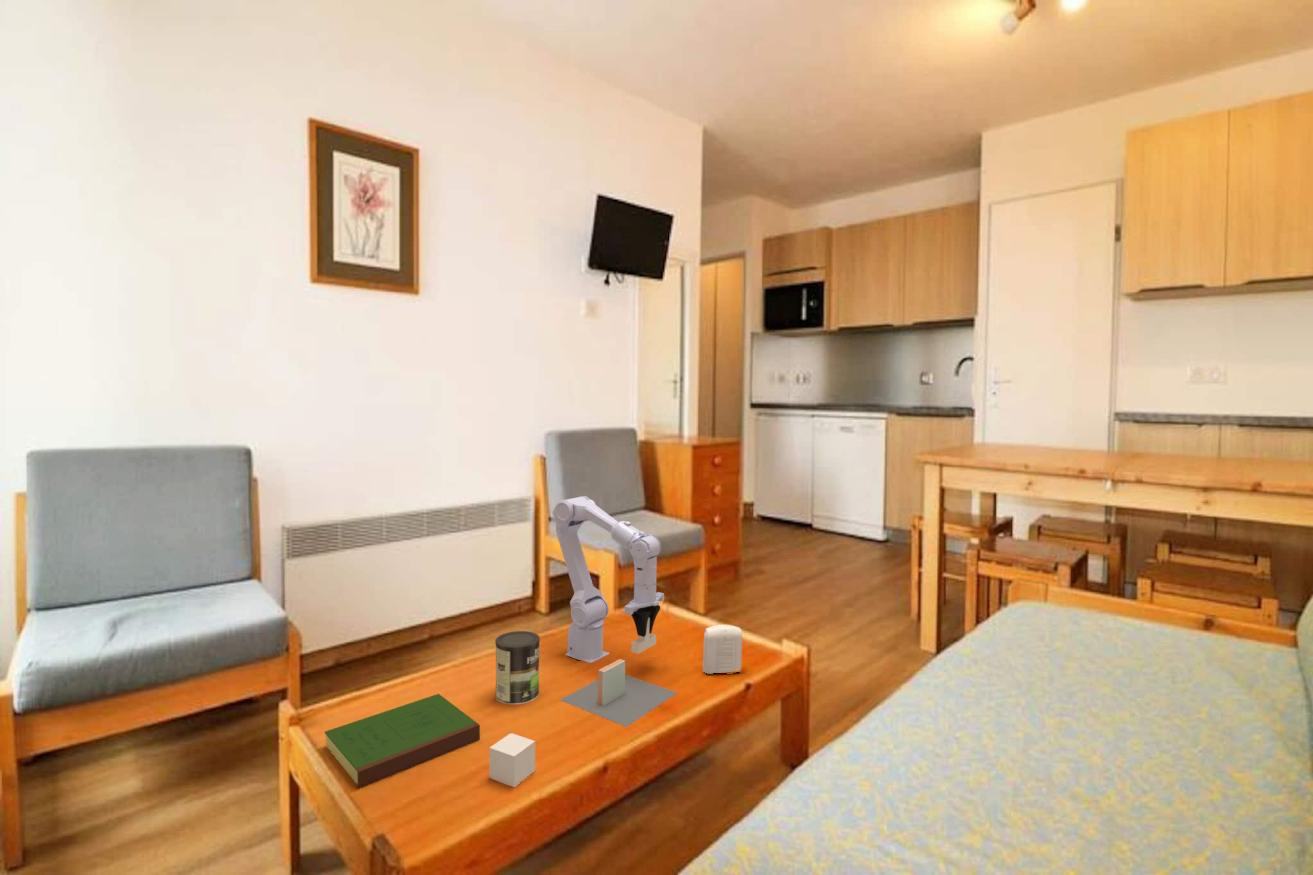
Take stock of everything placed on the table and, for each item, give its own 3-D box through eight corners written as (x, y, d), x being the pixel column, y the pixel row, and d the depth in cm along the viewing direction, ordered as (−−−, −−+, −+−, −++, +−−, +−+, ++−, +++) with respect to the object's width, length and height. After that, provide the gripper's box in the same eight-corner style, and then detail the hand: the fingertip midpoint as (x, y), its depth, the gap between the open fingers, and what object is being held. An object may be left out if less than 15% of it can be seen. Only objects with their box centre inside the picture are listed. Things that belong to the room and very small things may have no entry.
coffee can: (545, 688, 156) (546, 632, 155) (529, 708, 146) (529, 648, 145) (506, 684, 158) (506, 628, 157) (487, 703, 148) (487, 644, 147)
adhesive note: (510, 762, 125) (510, 732, 125) (535, 771, 122) (535, 740, 122) (489, 778, 120) (489, 747, 119) (514, 787, 117) (514, 756, 117)
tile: (597, 703, 148) (598, 670, 147) (619, 691, 154) (619, 658, 154) (603, 705, 147) (603, 672, 146) (624, 693, 154) (625, 660, 153)
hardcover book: (358, 791, 116) (358, 771, 116) (324, 749, 129) (324, 731, 129) (483, 740, 133) (483, 723, 133) (441, 708, 147) (441, 692, 146)
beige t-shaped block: (631, 651, 163) (631, 621, 163) (649, 642, 170) (650, 612, 169) (637, 653, 162) (638, 623, 162) (656, 644, 169) (656, 614, 168)
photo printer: (738, 667, 170) (740, 622, 170) (743, 674, 166) (744, 627, 165) (701, 668, 169) (702, 623, 168) (704, 675, 165) (705, 629, 164)
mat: (559, 701, 150) (559, 699, 150) (613, 672, 166) (613, 670, 166) (626, 728, 138) (626, 726, 138) (677, 694, 154) (677, 692, 154)
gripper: (640, 592, 157) (639, 646, 158) (673, 579, 168) (672, 629, 169) (618, 587, 161) (617, 639, 162) (652, 574, 172) (651, 623, 173)
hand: (644, 634), depth 166 cm, fingers closed on beige t-shaped block, 2 cm apart
